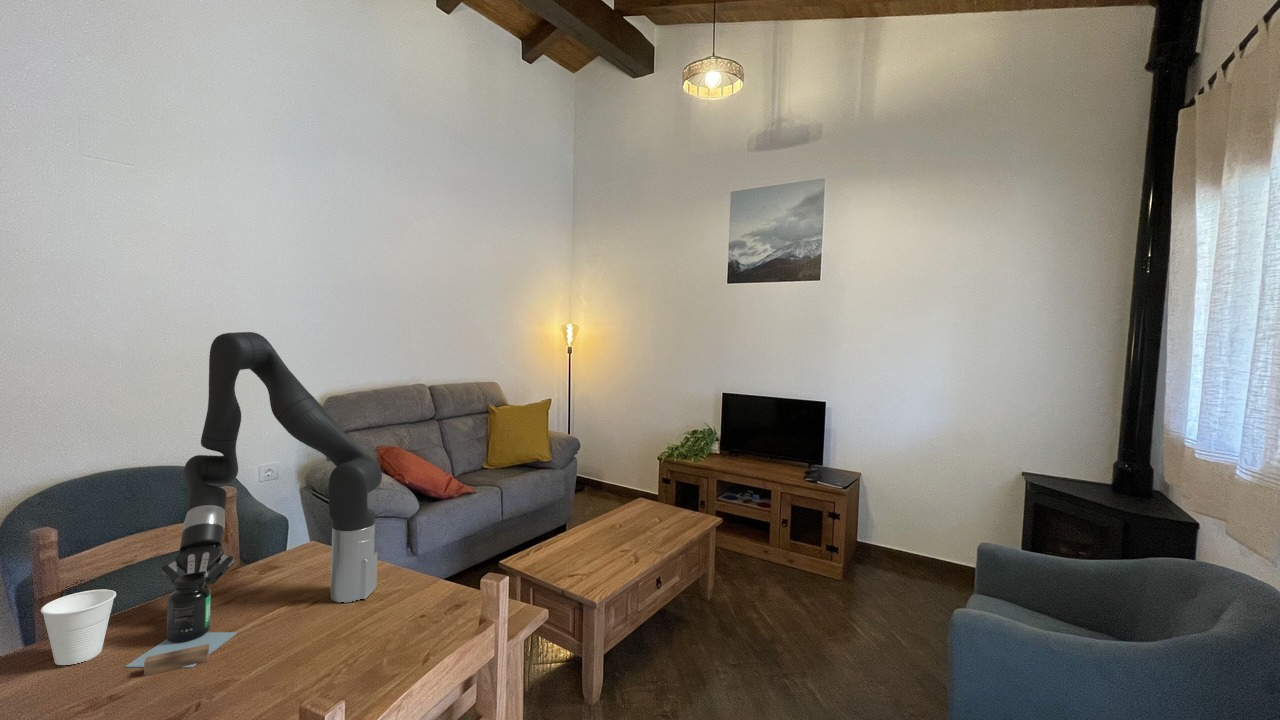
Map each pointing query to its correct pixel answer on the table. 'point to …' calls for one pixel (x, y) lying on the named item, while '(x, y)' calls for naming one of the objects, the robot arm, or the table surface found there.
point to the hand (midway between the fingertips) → (193, 604)
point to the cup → (78, 625)
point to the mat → (185, 646)
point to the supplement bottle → (188, 609)
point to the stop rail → (176, 659)
